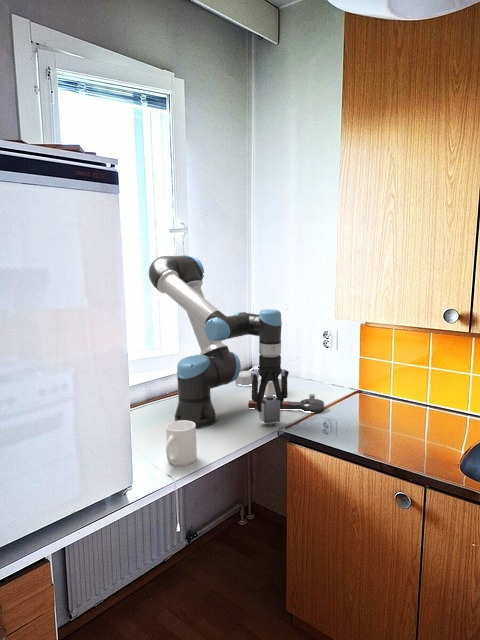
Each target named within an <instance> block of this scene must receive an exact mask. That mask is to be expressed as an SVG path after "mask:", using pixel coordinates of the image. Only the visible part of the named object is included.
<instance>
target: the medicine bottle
mask: <svg viewBox="0 0 480 640" xmlns="http://www.w3.org/2000/svg"><path fill="white" fill-rule="evenodd" d="M278 379H279V385H280V389H281V378H279V377H278ZM260 384H261V377H259V378H258V388H259V387H260ZM264 395H265V396H273V395H276V392H275V388H274V384H273V381H269V382H268V384H267V386H266V389H265V393H264Z"/></svg>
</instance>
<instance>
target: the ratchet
mask: <svg viewBox="0 0 480 640" xmlns="http://www.w3.org/2000/svg"><path fill="white" fill-rule="evenodd" d="M308 395H309V398H305V399H302V400H301V401H289V400H285V401H282V409H302V410H304V411H311V412H315V413H318V414H321V413H324V411H325V401H323V400H321V399H319V398H316V394H315V393H309V394H308ZM247 408H255V409H257V402H254V401H253V400H252V399H251V400H248V407H247Z"/></svg>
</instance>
